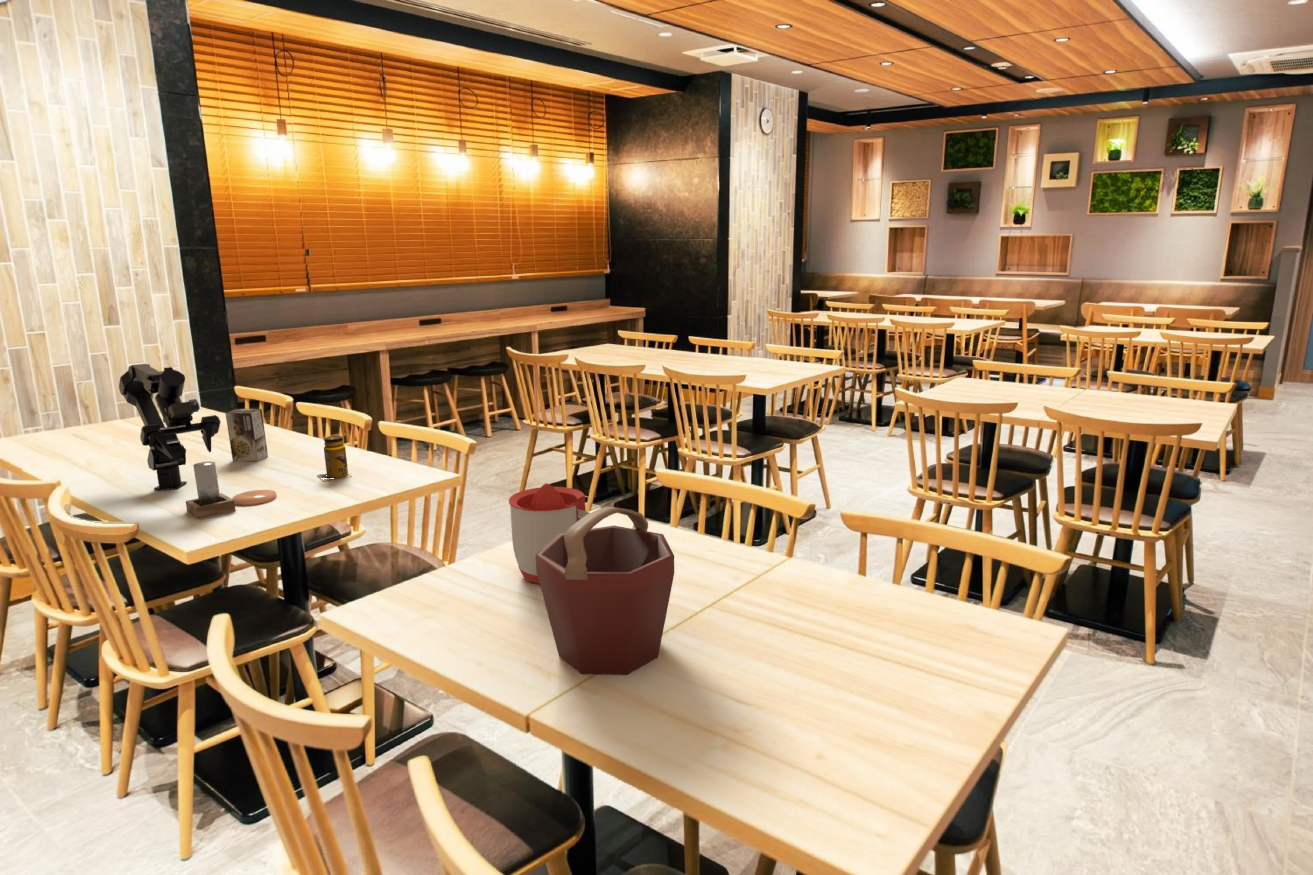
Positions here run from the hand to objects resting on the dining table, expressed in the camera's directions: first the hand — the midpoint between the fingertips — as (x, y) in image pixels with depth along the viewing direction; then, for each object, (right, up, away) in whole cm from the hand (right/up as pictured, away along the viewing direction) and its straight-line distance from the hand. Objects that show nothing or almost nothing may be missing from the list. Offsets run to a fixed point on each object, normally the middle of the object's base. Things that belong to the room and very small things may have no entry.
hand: (191, 454), depth 221 cm
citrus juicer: (+103, -24, -47) cm, 115 cm away
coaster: (+13, -12, +7) cm, 20 cm away
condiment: (+27, -7, +28) cm, 40 cm away
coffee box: (-9, -3, +50) cm, 51 cm away
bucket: (+115, -32, -79) cm, 143 cm away
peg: (+7, -15, -3) cm, 16 cm away
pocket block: (+7, -15, -3) cm, 16 cm away
